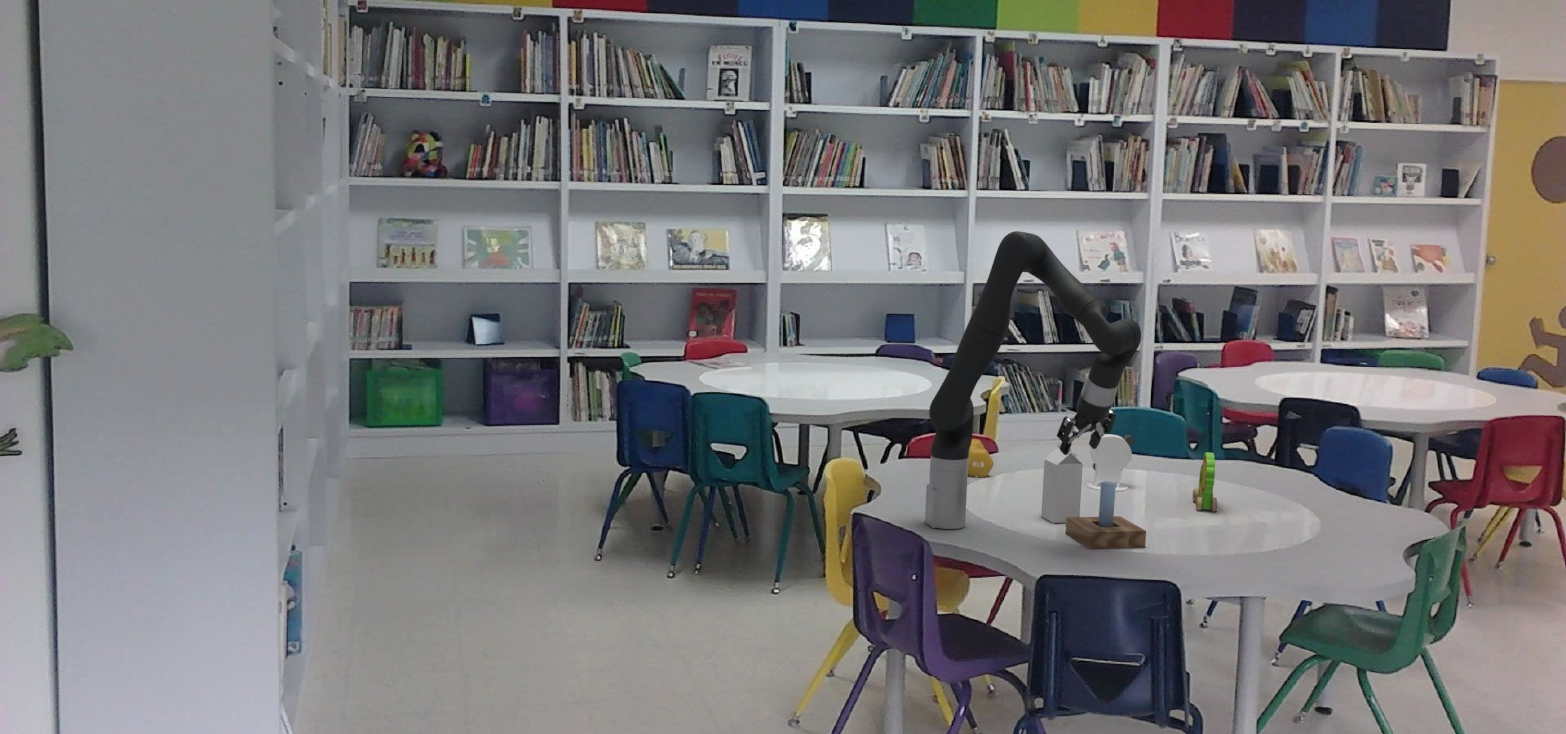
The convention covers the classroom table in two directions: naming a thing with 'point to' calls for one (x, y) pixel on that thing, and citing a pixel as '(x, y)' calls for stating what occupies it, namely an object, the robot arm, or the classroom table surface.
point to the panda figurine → (1111, 460)
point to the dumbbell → (979, 460)
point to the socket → (1105, 533)
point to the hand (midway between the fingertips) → (1078, 449)
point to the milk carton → (1061, 486)
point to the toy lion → (1206, 485)
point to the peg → (1106, 504)
